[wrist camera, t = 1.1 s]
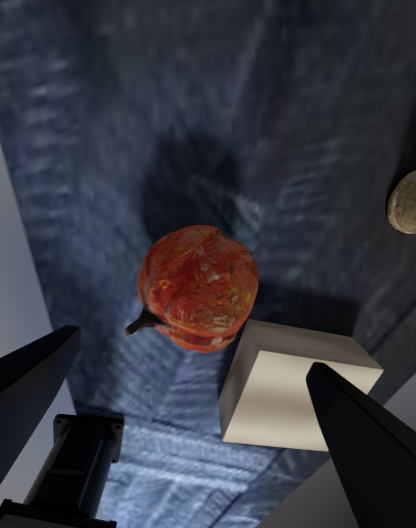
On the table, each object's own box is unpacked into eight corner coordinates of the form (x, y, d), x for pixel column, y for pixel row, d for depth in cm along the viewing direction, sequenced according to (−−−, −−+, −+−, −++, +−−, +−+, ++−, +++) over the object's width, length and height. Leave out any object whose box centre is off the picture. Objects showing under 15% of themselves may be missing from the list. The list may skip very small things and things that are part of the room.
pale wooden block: (306, 408, 24) (327, 451, 20) (217, 397, 22) (222, 441, 19) (349, 334, 20) (383, 370, 17) (247, 316, 19) (259, 350, 15)
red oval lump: (220, 201, 17) (80, 229, 11) (311, 222, 12) (146, 289, 6) (218, 282, 21) (110, 334, 15) (288, 324, 16) (168, 426, 10)
